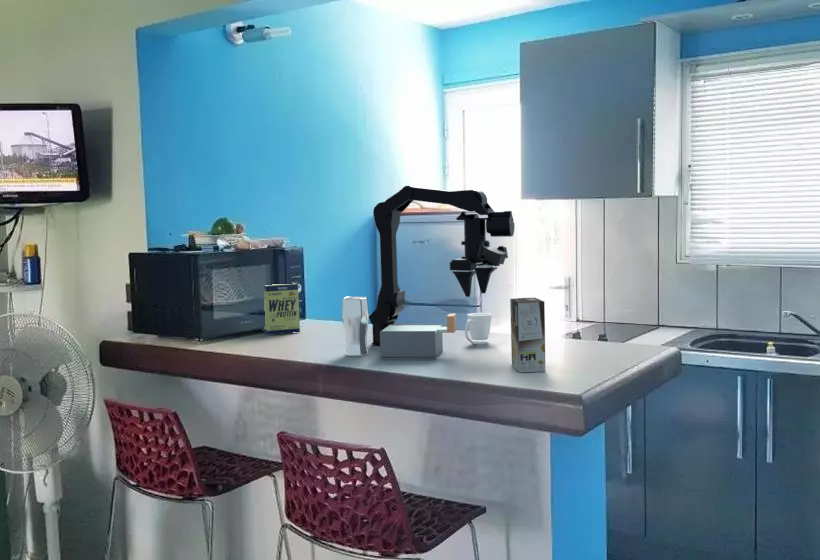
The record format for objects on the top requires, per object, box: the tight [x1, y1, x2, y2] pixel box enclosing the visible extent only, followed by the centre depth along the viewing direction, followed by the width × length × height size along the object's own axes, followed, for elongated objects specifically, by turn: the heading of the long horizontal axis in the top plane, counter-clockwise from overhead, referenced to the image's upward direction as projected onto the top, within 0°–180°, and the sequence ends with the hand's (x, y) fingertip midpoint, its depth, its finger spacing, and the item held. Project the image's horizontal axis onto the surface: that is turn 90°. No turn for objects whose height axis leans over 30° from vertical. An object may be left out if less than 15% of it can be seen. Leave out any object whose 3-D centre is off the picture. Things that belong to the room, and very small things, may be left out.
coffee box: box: [509, 297, 546, 373], centre depth 184 cm, size 9×6×16 cm
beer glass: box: [341, 295, 370, 357], centre depth 210 cm, size 7×7×15 cm
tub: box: [379, 323, 444, 361], centre depth 206 cm, size 14×13×7 cm
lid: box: [382, 313, 458, 335], centre depth 206 cm, size 18×11×4 cm, turn 80°
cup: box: [464, 312, 493, 345], centre depth 221 cm, size 7×10×8 cm
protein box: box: [263, 282, 301, 336], centre depth 257 cm, size 10×16×16 cm
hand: (475, 295), depth 216 cm, fingers open, 9 cm apart
